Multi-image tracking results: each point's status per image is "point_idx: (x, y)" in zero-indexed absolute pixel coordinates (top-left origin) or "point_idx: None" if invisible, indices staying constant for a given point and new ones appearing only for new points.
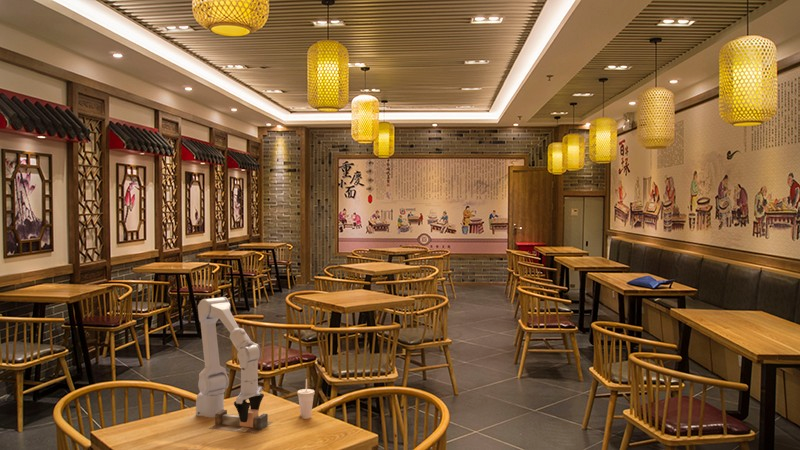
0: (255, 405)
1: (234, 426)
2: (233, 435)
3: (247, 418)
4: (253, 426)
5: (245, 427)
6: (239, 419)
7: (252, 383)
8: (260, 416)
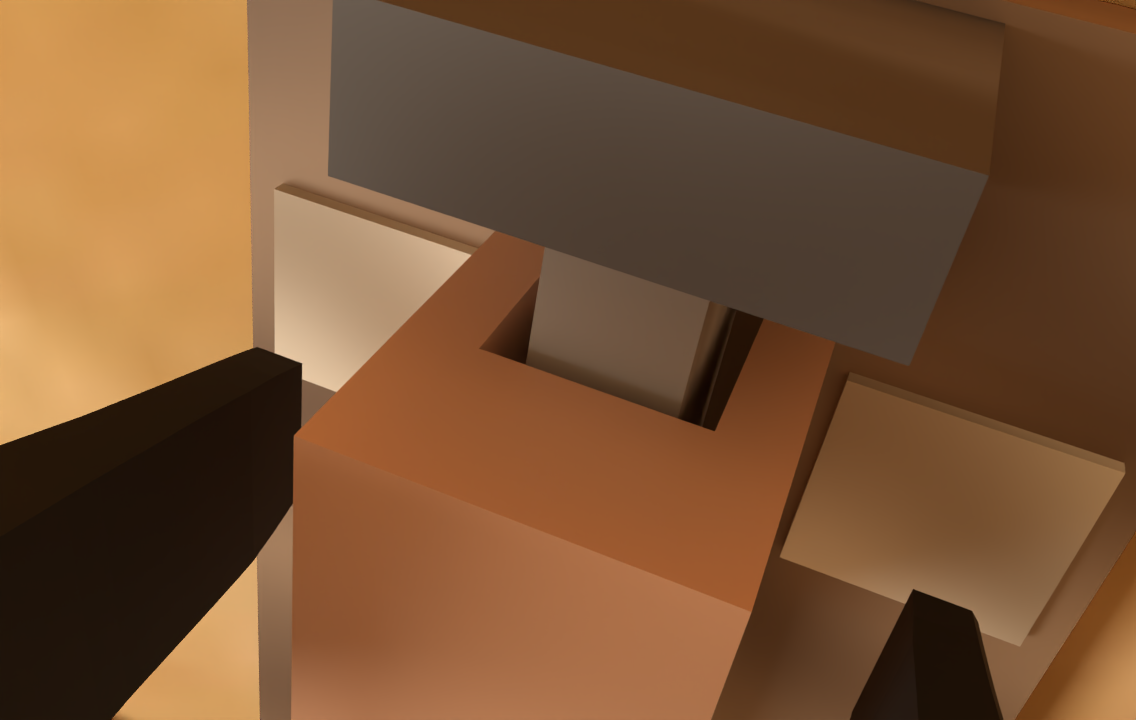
0: (76, 592)
1: None
2: (1127, 647)
3: (911, 653)
4: None
5: None
6: None
7: None
8: (691, 234)
